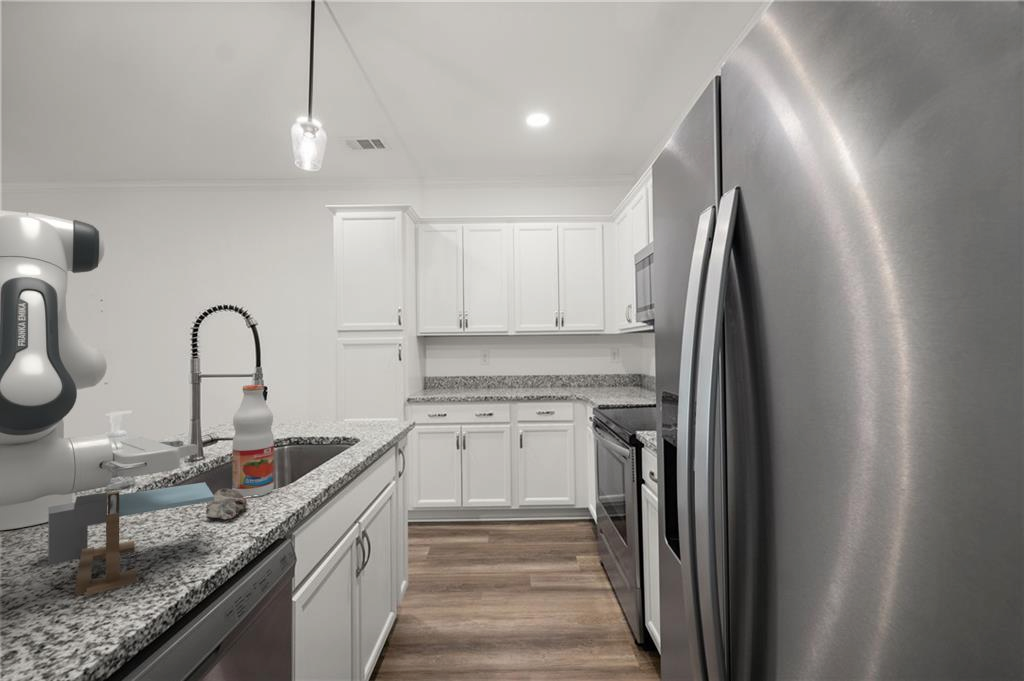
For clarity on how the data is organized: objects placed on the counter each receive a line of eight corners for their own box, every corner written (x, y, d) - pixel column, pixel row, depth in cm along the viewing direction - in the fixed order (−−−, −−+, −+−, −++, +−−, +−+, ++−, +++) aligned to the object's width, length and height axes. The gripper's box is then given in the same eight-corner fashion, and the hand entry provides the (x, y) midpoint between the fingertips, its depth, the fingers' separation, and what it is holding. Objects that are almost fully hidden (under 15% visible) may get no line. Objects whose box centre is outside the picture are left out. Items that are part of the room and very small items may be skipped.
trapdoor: (77, 512, 82) (78, 491, 82) (204, 492, 94) (204, 474, 94) (71, 534, 72) (72, 511, 72) (214, 509, 84) (214, 489, 84)
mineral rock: (237, 523, 100) (237, 502, 100) (195, 527, 98) (195, 506, 98) (255, 501, 114) (255, 483, 114) (218, 505, 112) (218, 486, 112)
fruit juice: (256, 486, 126) (256, 383, 127) (282, 489, 123) (281, 384, 123) (223, 496, 118) (223, 386, 118) (249, 500, 114) (249, 387, 115)
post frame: (82, 555, 84) (82, 495, 84) (134, 544, 89) (134, 487, 89) (74, 598, 70) (75, 525, 70) (137, 582, 74) (137, 513, 74)
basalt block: (48, 556, 84) (48, 507, 84) (85, 548, 88) (85, 500, 88) (48, 565, 81) (48, 513, 81) (87, 556, 84) (87, 506, 84)
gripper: (111, 450, 70) (213, 435, 81) (76, 436, 82) (168, 425, 93) (111, 491, 70) (213, 471, 81) (76, 472, 82) (168, 456, 93)
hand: (189, 446), depth 87 cm, fingers open, 5 cm apart
